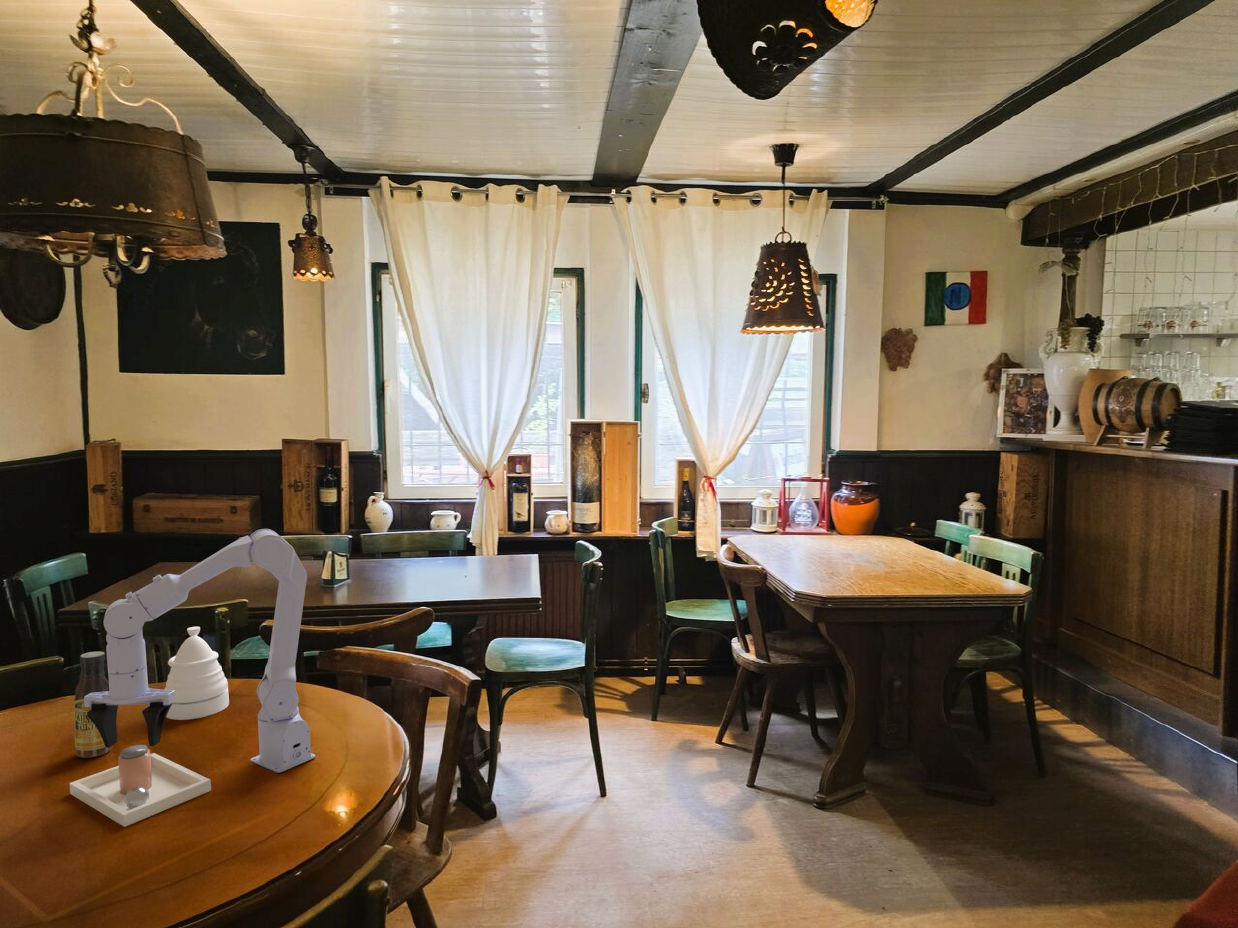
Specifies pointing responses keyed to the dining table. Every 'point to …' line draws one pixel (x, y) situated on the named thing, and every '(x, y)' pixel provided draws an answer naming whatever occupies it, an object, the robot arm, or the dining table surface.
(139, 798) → the mixing ball
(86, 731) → the sauce bottle
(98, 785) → the dish
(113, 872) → the dining table surface
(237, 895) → the dining table surface
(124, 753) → the shaker
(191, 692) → the honey pot
